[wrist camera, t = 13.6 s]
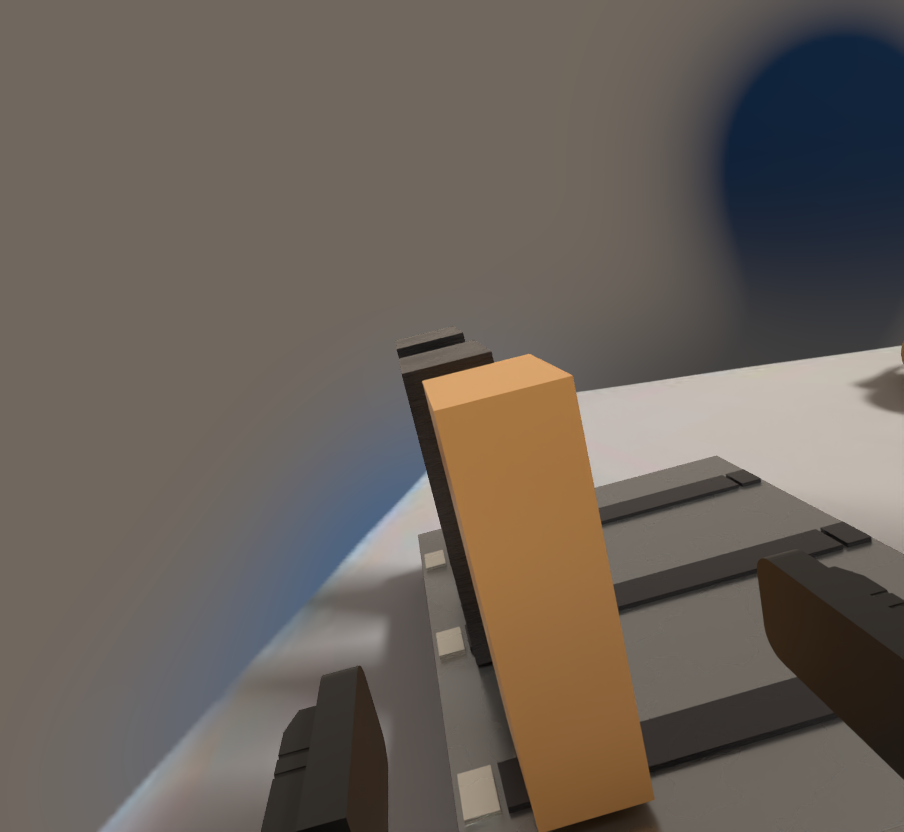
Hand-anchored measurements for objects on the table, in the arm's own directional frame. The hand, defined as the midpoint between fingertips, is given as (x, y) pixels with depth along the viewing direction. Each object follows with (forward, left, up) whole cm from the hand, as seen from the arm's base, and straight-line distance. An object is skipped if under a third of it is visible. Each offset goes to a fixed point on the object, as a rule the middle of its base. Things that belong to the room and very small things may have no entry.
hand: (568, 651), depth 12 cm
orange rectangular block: (-2, -3, -6) cm, 7 cm away
